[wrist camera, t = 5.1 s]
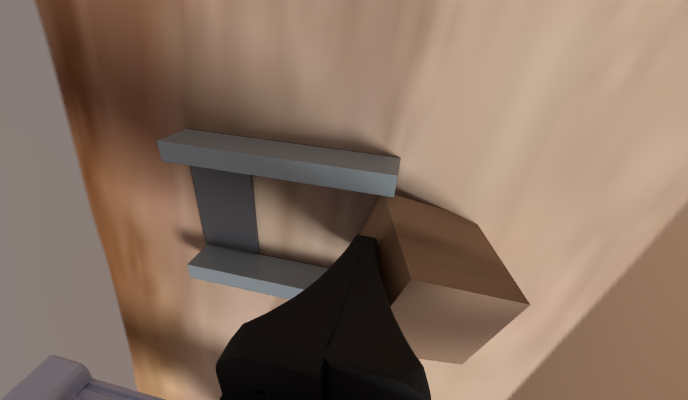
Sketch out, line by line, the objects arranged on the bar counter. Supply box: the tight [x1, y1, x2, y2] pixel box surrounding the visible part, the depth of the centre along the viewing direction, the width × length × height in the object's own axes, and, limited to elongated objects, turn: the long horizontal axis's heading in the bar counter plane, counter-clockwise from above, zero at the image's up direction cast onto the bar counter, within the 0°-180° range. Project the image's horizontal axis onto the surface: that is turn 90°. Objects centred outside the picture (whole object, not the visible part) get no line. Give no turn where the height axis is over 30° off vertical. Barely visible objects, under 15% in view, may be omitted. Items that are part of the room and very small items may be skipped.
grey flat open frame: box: [157, 129, 401, 299], centre depth 16 cm, size 8×11×2 cm
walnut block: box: [359, 195, 530, 364], centre depth 14 cm, size 4×5×5 cm
